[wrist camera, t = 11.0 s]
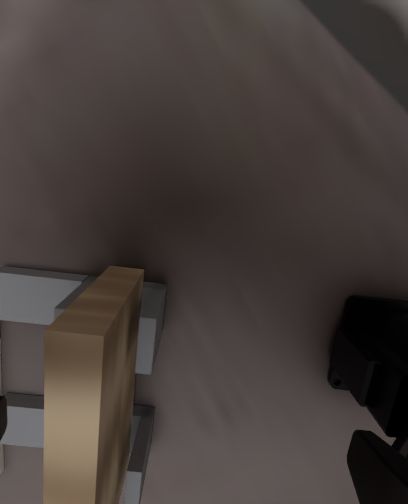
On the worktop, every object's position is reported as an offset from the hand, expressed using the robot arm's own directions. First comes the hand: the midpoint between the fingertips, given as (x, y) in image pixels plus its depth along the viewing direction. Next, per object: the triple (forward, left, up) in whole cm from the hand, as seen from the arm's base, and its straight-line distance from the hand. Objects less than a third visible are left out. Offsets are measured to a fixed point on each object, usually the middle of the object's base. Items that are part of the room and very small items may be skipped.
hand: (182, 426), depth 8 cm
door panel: (+4, +6, -11) cm, 13 cm away
